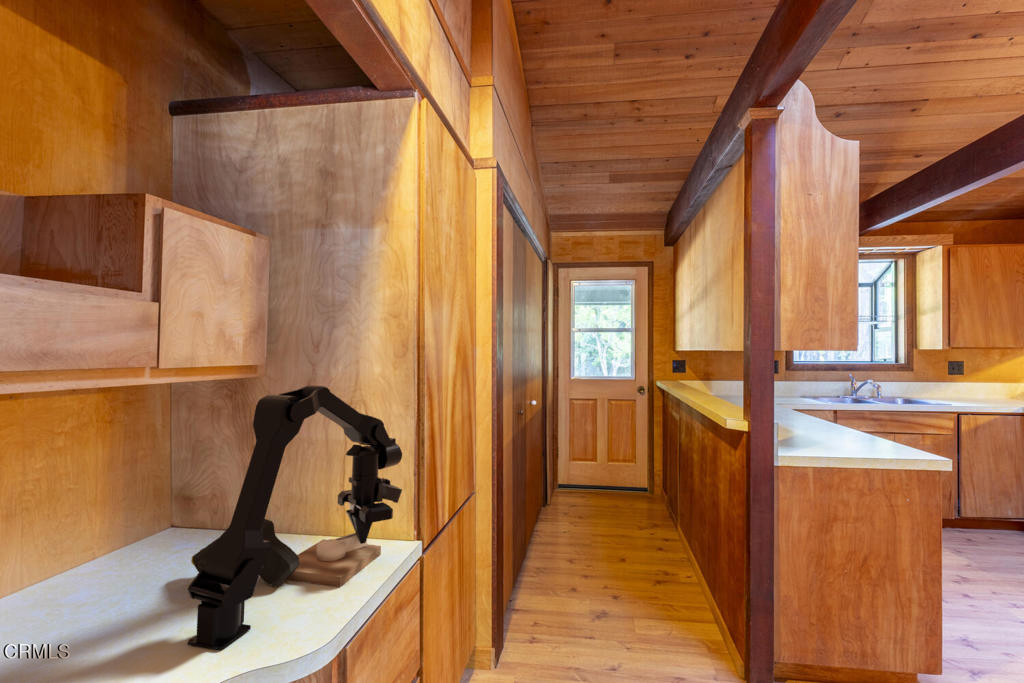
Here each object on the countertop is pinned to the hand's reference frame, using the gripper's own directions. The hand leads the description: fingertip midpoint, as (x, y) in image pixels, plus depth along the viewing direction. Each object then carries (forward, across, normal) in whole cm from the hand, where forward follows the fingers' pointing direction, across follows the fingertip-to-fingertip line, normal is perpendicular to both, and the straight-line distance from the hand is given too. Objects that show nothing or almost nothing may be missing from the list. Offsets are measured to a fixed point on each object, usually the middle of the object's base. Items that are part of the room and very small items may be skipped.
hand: (362, 543), depth 112 cm
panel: (+4, 0, +7) cm, 8 cm away
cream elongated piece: (+1, +1, +4) cm, 5 cm away
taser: (+4, +3, +23) cm, 24 cm away
